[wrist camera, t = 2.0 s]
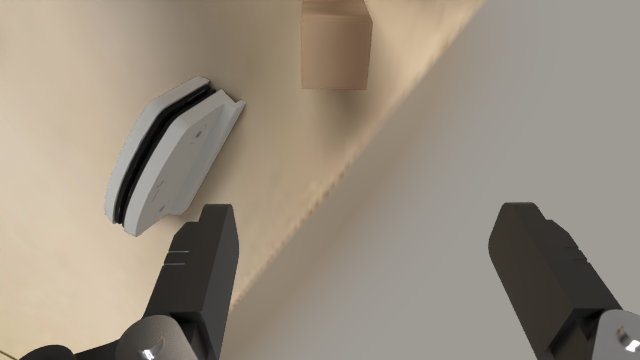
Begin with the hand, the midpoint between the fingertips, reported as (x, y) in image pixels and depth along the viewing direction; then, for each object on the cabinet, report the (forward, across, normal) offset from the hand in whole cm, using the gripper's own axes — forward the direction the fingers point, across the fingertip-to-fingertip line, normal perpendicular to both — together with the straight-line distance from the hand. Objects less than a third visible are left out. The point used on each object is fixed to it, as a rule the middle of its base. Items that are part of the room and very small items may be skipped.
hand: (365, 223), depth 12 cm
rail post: (+26, 0, 0) cm, 26 cm away
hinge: (+26, +16, +14) cm, 34 cm away
